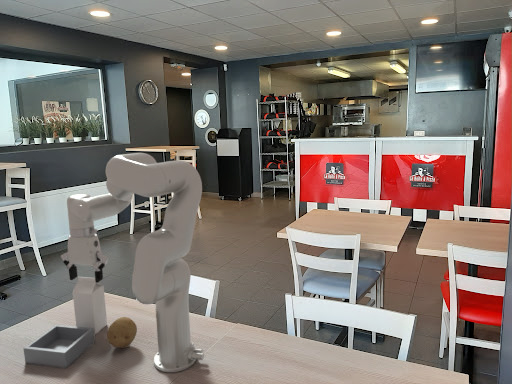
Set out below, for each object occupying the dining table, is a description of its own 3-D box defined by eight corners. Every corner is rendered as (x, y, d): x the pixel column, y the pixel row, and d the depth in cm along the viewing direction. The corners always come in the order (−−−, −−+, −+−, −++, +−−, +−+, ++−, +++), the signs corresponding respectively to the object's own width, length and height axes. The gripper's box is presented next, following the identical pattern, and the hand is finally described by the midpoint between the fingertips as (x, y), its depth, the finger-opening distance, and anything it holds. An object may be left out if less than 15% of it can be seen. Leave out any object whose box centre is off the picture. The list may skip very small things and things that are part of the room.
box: (95, 342, 129) (93, 328, 128) (66, 368, 116) (64, 352, 115) (57, 338, 132) (55, 324, 131) (25, 363, 119) (23, 348, 118)
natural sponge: (131, 356, 121) (129, 326, 119) (103, 356, 121) (100, 326, 120) (141, 340, 130) (139, 312, 128) (115, 340, 130) (112, 312, 129)
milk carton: (95, 335, 134) (90, 282, 130) (76, 333, 135) (71, 281, 132) (107, 324, 140) (102, 274, 137) (89, 323, 142) (84, 273, 138)
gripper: (111, 229, 133) (115, 277, 137) (66, 227, 137) (71, 273, 140) (98, 236, 126) (102, 286, 129) (51, 233, 130) (56, 282, 133)
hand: (86, 279), depth 135 cm, fingers open, 9 cm apart
